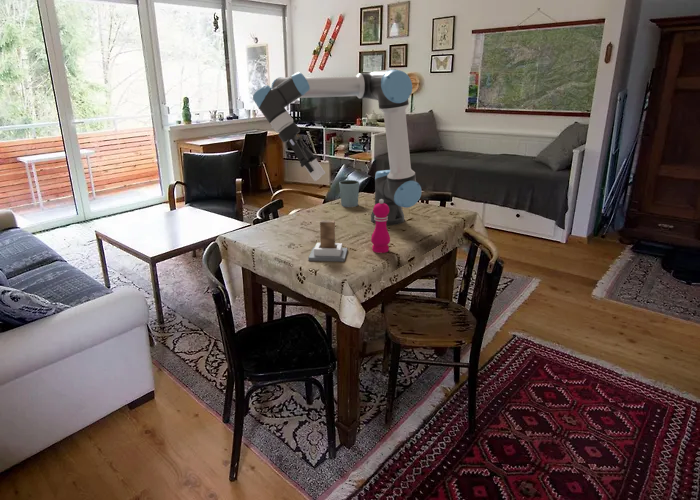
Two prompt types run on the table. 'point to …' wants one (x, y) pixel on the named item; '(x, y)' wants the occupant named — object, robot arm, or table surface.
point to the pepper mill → (380, 228)
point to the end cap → (328, 253)
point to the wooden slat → (327, 233)
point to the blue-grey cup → (349, 193)
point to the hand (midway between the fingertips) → (320, 177)
